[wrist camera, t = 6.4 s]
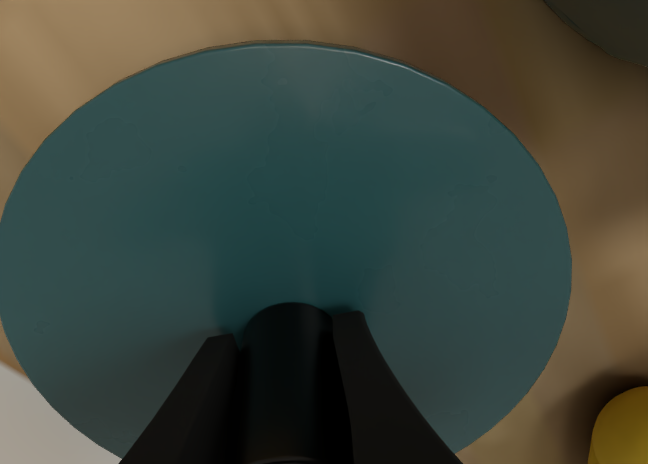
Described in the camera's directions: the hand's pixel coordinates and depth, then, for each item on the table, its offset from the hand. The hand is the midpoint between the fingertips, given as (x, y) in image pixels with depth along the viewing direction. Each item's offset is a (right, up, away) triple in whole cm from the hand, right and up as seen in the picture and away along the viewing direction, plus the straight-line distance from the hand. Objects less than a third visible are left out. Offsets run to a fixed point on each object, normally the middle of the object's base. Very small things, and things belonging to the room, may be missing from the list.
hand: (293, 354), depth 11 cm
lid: (0, +1, +1) cm, 1 cm away
